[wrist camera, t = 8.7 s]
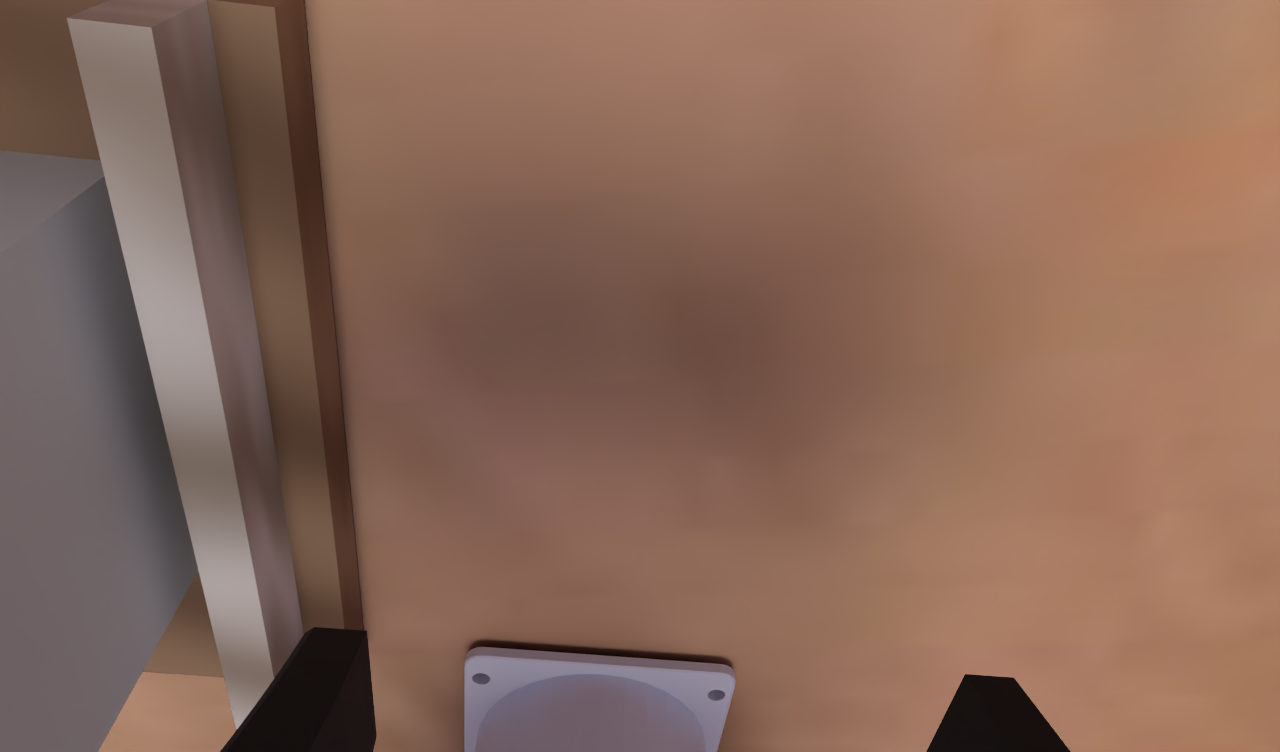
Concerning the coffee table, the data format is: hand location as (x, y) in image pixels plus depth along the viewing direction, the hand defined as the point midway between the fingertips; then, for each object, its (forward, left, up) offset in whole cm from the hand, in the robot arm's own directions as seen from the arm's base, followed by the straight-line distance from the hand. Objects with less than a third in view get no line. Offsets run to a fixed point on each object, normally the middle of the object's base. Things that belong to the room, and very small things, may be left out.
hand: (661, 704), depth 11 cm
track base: (-4, +12, -10) cm, 16 cm away
